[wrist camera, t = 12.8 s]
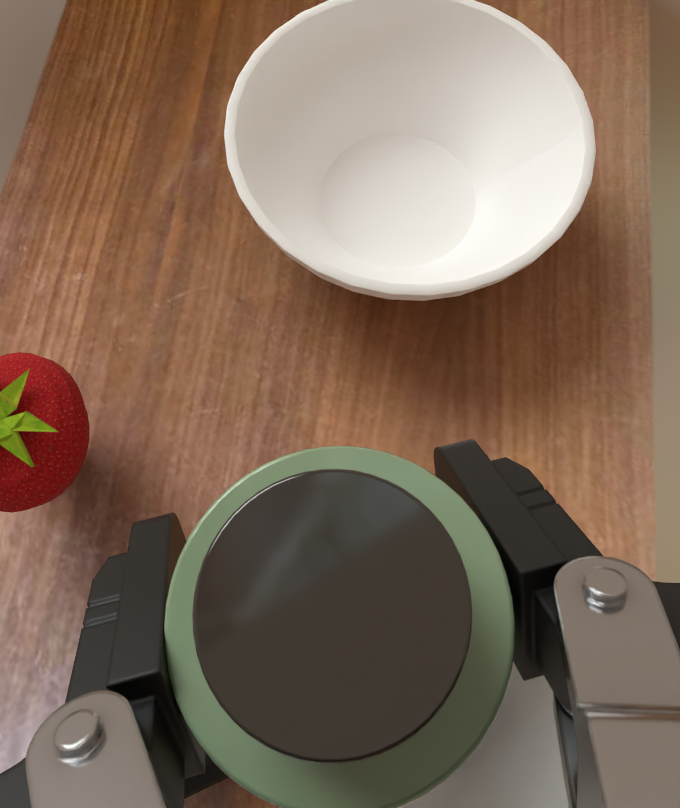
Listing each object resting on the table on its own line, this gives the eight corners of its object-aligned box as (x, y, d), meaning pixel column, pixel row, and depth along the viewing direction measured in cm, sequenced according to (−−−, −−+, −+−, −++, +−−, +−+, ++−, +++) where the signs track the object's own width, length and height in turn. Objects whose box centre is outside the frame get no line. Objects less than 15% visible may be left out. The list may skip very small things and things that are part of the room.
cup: (417, 518, 33) (485, 460, 19) (562, 684, 31) (768, 764, 16) (259, 658, 31) (198, 716, 16) (403, 847, 28) (477, 1106, 14)
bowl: (239, 86, 42) (222, -8, 35) (526, 76, 42) (562, -19, 36) (244, 357, 36) (224, 304, 29) (576, 340, 37) (629, 285, 30)
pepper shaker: (231, 698, 15) (44, 755, 7) (296, 515, 17) (217, 364, 8) (418, 769, 15) (491, 941, 6) (467, 570, 16) (582, 469, 7)
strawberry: (125, 388, 35) (50, 312, 26) (116, 522, 33) (30, 493, 24) (20, 392, 35) (-96, 316, 26) (4, 527, 33) (-129, 499, 23)
